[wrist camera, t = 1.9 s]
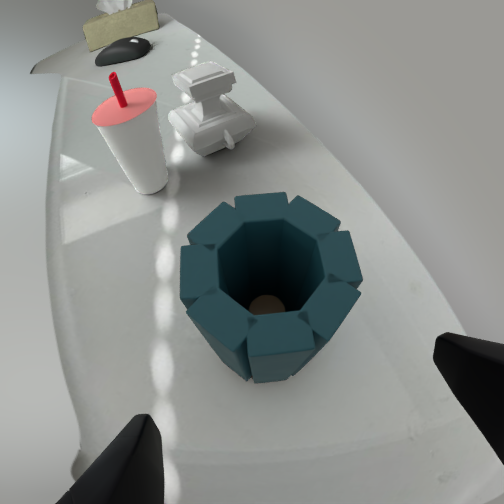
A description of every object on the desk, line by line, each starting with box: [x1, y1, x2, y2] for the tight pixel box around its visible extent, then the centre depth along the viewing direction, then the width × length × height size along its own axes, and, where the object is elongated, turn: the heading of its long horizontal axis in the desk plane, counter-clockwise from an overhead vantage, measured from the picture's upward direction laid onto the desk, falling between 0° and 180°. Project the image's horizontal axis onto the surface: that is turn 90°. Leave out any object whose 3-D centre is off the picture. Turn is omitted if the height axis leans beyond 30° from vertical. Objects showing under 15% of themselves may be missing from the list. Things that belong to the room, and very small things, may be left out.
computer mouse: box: [95, 37, 151, 66], centre depth 44 cm, size 8×12×4 cm, turn 88°
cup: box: [92, 72, 168, 195], centre depth 22 cm, size 5×5×12 cm
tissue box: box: [83, 0, 159, 52], centre depth 49 cm, size 19×10×16 cm, turn 111°
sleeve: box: [180, 192, 363, 383], centre depth 14 cm, size 6×6×10 cm
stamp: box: [168, 61, 256, 157], centre depth 26 cm, size 9×7×8 cm
